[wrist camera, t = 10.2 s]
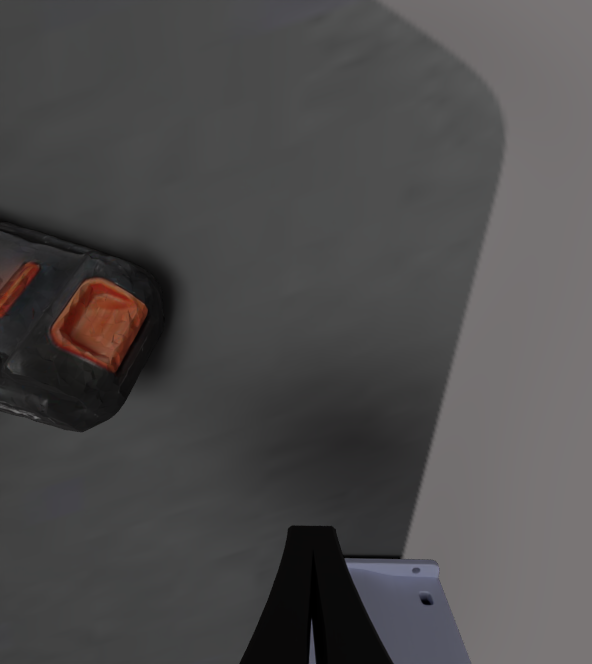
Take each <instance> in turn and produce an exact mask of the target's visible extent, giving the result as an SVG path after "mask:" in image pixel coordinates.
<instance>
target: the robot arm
mask: <svg viewBox="0 0 592 664" xmlns="http://www.w3.org/2000/svg"><path fill="white" fill-rule="evenodd" d="M438 577H439V566H438V563H437V562H436V561H434V560H420V559H418V560H415V559H364V558H344V556H343V554H342V551H341V548H340V544H339V541H338V537H337V534H336V529H335V528H333V527H332V526H291V527H290V528H288V534H287V540H286V545H285V549H284V553H283V556H282V560H281V563H280V566H279V570H278V573H277V575H276V578H275V581H274V584H273V587H272V590H271V592H270V595H269V598H268V600H267V603H266V605H265V608H264V610H263V612H262V615H261V617H260V620H259V622H258V625H257V627H256V629H255V632H254V634H253V636H252V638H251V640H250V643H249V645H248V647H247V649H246V651H245V653H244V655H243V657H242V659H241V661H240V663H239V664H471V661H470V659H469V656H468V654H467V651H466V649H465V646H464V643H463V641H462V638H461V635H460V633H459V630H458V628H457V625H456V623H455V620H454V617H453V614H452V612H451V609H450V607H449V604H448V601H447V599H446V596H445V594H444V591H443V588H442V586H441V583H440V581H439V578H438Z"/></svg>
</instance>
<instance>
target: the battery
mask: <svg viewBox="0 0 592 664" xmlns="http://www.w3.org/2000/svg"><path fill="white" fill-rule="evenodd" d="M162 298H163V292H162V290H161V288H160V286H159V284H158V282H157V281H156V280H155V278H154V277H153V275H152V274H150V273H149V272H147V271H146V270H145V269H143V268H141V267H140V266H138V265H136V264H133V263H131V262H128V261H125V260H123V259H120V258H118V257H114V256H111V255H108V254H105V253H102V252H99V251H97V250H94V249H91V248H88V247H85V246H81V245H78V244H74V243H71V242H68V241H65V240H61V239H58V238H56V237H54V236H50V235H47V234H44V233H41V232H38V231H35V230H31V229H26V228H24V227H20V226H16V225H14V224H12V223H10V222H0V411H2V412H5V413H9V414H12V415H16V416H21V417H26V418H28V419H31V420H33V421H36V422H40V423H44V424H48V425H51V426H55V427H58V428H61V429H64V430H70V431H77V432H84V431H86V430H88V429H90V428H92V427H94V426H96V425H98V424H100V423H102V422H105V421H107V420H109V419H110V418H111V417H113V416H114V415H115V414H116V413H117V412H118V411H119V410H120V408H121V407H122V406H123V404H124V403H125V401H126V399H127V397H128V395H129V394H130V392H131V390H132V388H133V386H134V384H135V382H136V380H137V378H138V376H139V374H140V372H141V370H142V368H143V366H144V365H145V363H146V361H147V359H148V358H149V356H150V354H151V352H152V350H153V347H154V345H155V343H156V342H157V340H158V339H159V337H160V336H161V334H162V331H163V327H164V316H163V311H162Z"/></svg>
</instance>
